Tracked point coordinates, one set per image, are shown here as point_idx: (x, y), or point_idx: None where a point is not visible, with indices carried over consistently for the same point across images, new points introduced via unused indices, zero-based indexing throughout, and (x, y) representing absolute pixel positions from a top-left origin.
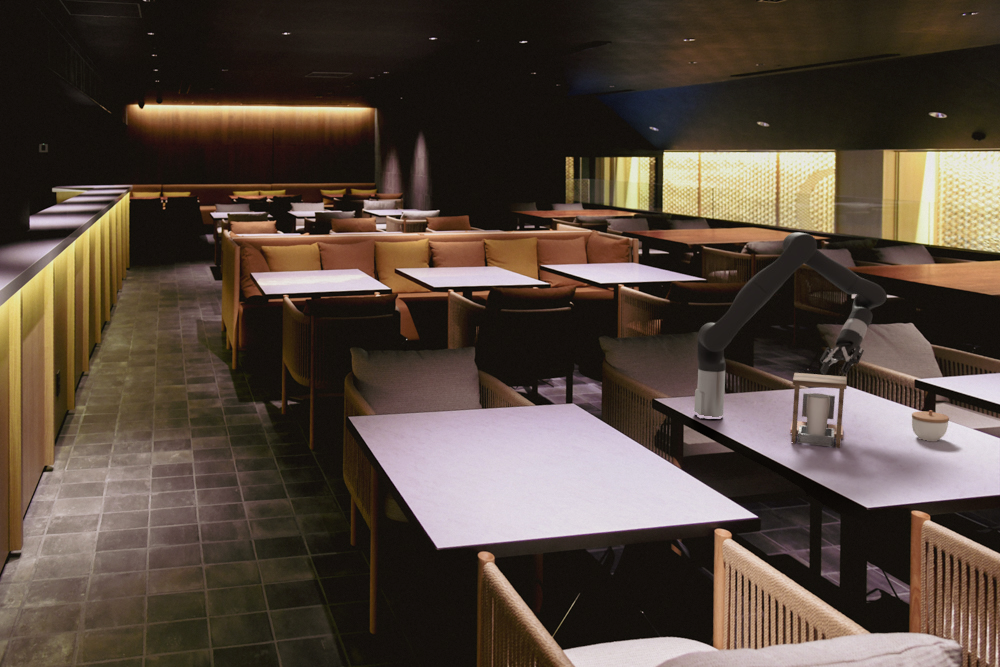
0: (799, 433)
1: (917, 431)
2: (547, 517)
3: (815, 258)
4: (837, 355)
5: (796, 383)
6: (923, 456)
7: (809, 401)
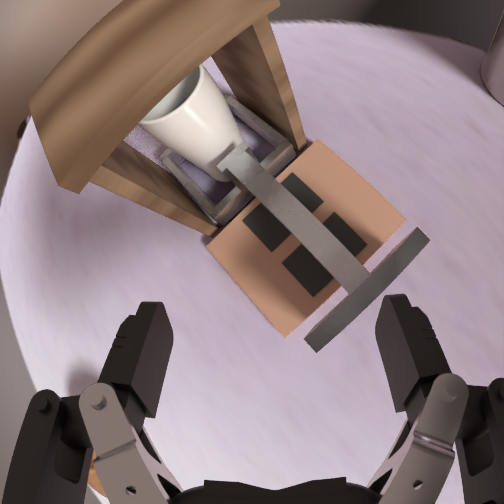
0: (225, 96)
1: None
2: None
3: None
4: (302, 500)
5: None
6: (66, 307)
7: None
